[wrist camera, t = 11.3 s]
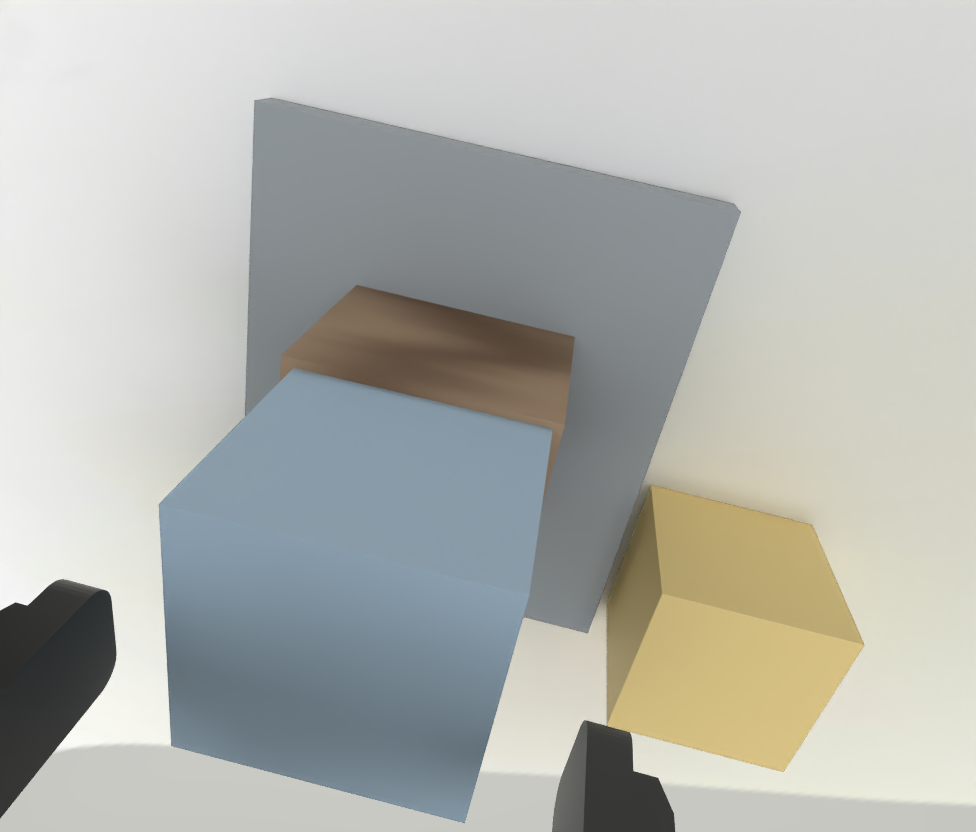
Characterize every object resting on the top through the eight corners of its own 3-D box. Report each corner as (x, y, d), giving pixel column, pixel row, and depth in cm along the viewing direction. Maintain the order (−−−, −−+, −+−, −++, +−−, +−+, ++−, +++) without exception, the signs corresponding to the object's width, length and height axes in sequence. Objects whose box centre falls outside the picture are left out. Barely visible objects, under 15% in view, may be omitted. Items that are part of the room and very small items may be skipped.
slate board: (734, 203, 17) (740, 212, 17) (588, 612, 24) (587, 633, 23) (271, 98, 18) (254, 100, 17) (254, 526, 25) (241, 544, 24)
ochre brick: (811, 523, 21) (864, 644, 17) (750, 639, 24) (783, 772, 19) (650, 483, 22) (662, 593, 17) (606, 602, 24) (606, 725, 20)
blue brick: (552, 428, 14) (529, 596, 10) (501, 623, 17) (464, 823, 13) (293, 367, 15) (158, 504, 10) (282, 568, 17) (171, 746, 13)
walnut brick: (574, 336, 19) (565, 424, 14) (525, 515, 21) (505, 635, 17) (356, 284, 19) (280, 355, 14) (336, 468, 22) (269, 574, 17)
